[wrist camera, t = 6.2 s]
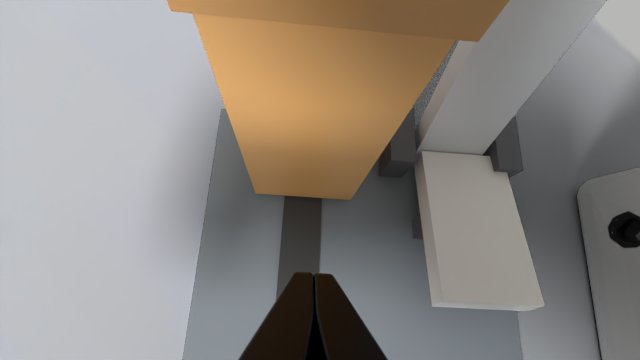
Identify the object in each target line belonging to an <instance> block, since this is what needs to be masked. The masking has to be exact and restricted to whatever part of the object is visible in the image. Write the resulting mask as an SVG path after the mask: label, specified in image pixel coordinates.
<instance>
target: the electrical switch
mask: <svg viewBox="0 0 640 360" xmlns="http://www.w3.org/2000/svg"><path fill="white" fill-rule="evenodd" d="M577 199H578V206H579V212H580V219H581V225H582V232H583V239H584V245H585V252H586V258H587V265H588V271H589V278H590V284H591V291H592V297H593V304H594V310H595V317H596V323H597V330H598V336H599V343H600V349H601V356H602V360H640V167H637V168H633V169H629V170H625V171H621V172H617V173H613V174H609V175H605V176H601V177H597V178H593V179H589V180H587V181H586V182H585V183H584V184H583V185H582V186H581V187H580V188H579V191H578V194H577Z"/></svg>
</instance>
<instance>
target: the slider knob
mask: <svg viewBox="0 0 640 360" xmlns="http://www.w3.org/2000/svg"><path fill="white" fill-rule="evenodd" d="M509 1H510V0H167V2H168V5H169V7H170V10H171V11H174V12H184V13H193V16H194V19H195V22H196V25H197V27H198V30H199V33H200V36H201V39H202V42H203V45H204V47H205V50H206V53H207V56H208V59H209V62H210V65H211V68H212V70H213V73H214V76H215V79H216V82H217V85H218V88H219V90H220V93H221V96H222V99H223V102H224V105H225V108H226V110H227V113H228V116H229V119H230V122H231V125H232V128H233V130H234V133H235V136H236V139H237V142H238V145H239V148H240V150H241V153H242V156H243V159H244V162H245V165H246V168H247V170H248V173H249V176H250V179H251V182H252V185H253V188H254V191H255V193H256V194H269V195H284V196H299V197H313V198H328V199H342V200H351V199H352V197H353V196H354V194H355V193H356V191H357V190H358V188H359V187H360V185H361V184H362V182H363V180H364V179H365V177H366V176H367V174H368V173H369V171H370V170H371V168H372V167H373V165H374V164H375V162H376V161H377V159H378V158H379V156H380V155H381V153H382V152H383V150H384V149H385V147H386V146H387V144H388V143H389V141H390V140H391V138H392V137H393V135H394V134H395V132H396V131H397V129H398V128H399V126H400V125H401V123H402V122H403V120H404V119H405V117H406V116H407V114H408V113H409V111H410V110H411V108H412V107H413V105H414V104H415V102H416V101H417V99H418V98H419V96H420V95H421V93H422V92H423V90H424V89H425V87H426V86H427V84H428V83H429V81H430V80H431V78H432V77H433V75H434V74H435V72H436V71H437V69H438V68H439V66H440V65H441V63H442V62H443V60H444V59H445V57H446V56H447V54H448V53H449V51H450V50H451V48H452V47H453V45H454V44H455V42H456V41H457V40H462V41H472V42H479V40H480V39H481V38H482V36H483V35H484V34H485V32H486V31H487V30H488V28H489V27H490V26H491V24H492V23H493V22H494V20H495V19H496V18H497V17H498V15H499V14H500V13H501V11H502V10H503V9H504V7H505V6H506V5H507V3H508V2H509Z"/></svg>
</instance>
